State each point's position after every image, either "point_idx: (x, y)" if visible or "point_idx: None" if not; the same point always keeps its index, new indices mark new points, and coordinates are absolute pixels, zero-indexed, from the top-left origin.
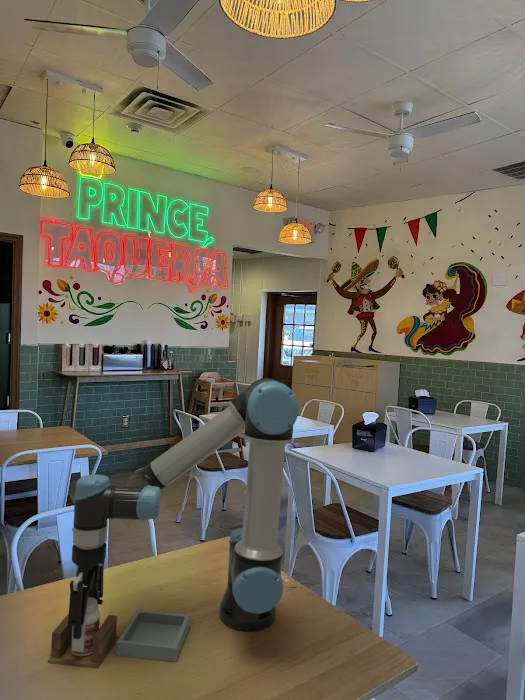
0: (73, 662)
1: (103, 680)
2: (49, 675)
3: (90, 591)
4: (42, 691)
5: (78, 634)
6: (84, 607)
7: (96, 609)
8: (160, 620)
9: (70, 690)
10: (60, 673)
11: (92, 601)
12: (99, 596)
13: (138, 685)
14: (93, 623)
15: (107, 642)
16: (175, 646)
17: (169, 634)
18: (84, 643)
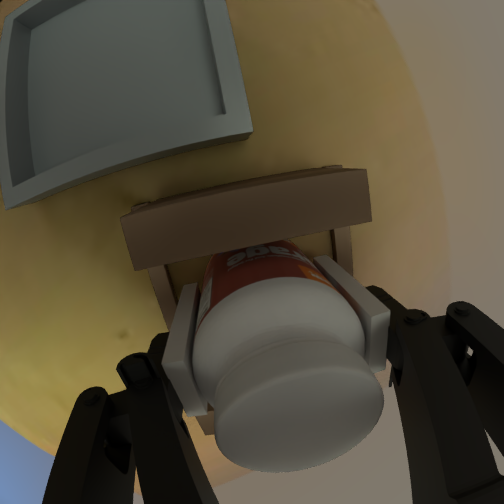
0: (350, 261)
1: (378, 117)
2: (396, 290)
3: (207, 490)
4: (443, 262)
5: (390, 297)
6: (460, 376)
7: (236, 345)
8: (20, 101)
9: (432, 194)
10: (385, 268)
11: (276, 415)
12: (130, 408)
13: (353, 14)
14: (319, 280)
15: (259, 180)
16: None
17: (76, 33)
18: (327, 266)
